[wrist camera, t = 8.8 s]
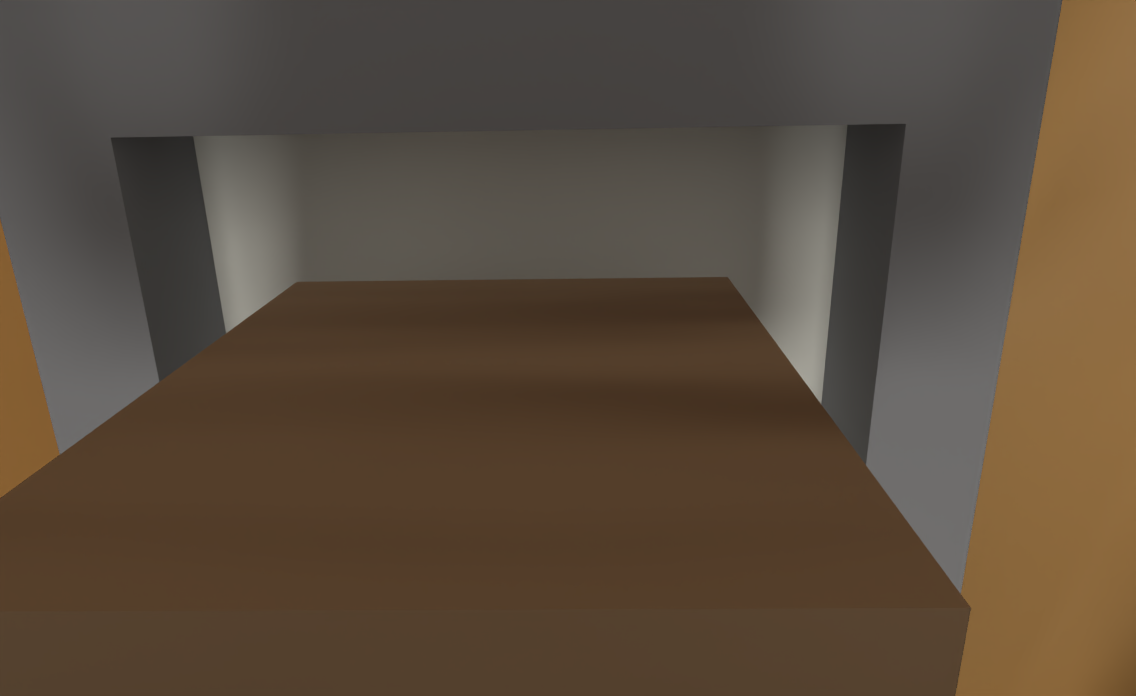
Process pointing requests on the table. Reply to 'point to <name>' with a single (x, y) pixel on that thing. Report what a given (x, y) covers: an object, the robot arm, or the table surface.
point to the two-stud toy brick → (474, 512)
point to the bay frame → (540, 182)
